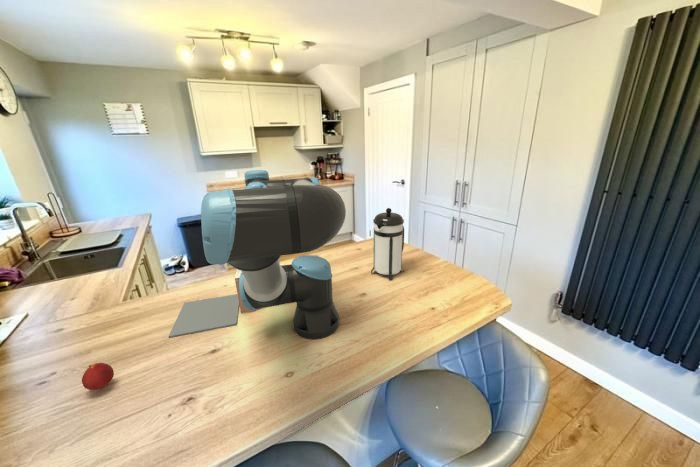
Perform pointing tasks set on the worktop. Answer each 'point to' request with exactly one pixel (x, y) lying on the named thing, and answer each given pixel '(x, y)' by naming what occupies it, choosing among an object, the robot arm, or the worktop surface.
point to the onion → (97, 376)
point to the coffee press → (388, 243)
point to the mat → (206, 315)
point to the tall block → (242, 307)
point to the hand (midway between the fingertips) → (270, 278)
